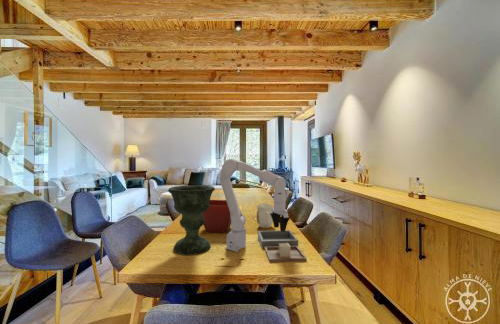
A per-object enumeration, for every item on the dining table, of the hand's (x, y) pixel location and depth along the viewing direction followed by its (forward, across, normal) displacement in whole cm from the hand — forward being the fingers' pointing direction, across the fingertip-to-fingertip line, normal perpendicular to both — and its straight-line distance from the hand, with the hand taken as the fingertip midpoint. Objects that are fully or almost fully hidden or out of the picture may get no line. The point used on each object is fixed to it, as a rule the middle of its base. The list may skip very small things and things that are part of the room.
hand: (279, 229), depth 134 cm
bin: (+10, +8, -2) cm, 13 cm away
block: (+9, -10, +2) cm, 14 cm away
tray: (+10, -10, +2) cm, 14 cm away
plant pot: (+10, +43, +21) cm, 49 cm away
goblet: (+10, +14, +40) cm, 44 cm away
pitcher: (+10, +40, -9) cm, 42 cm away
